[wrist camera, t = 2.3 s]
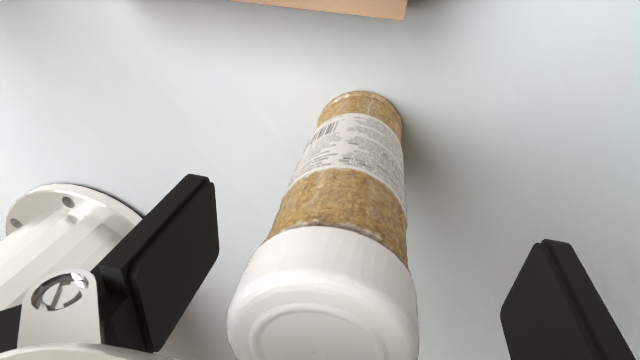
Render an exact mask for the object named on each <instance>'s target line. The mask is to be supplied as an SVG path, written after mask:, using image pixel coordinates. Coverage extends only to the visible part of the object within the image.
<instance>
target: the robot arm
mask: <svg viewBox="0 0 640 360" xmlns="http://www.w3.org/2000/svg"><path fill="white" fill-rule="evenodd" d="M6 235H7V237H6V238H5V239H3V240H2V241H0V360H178V359H173V358H169V357H164V356H160V355H155V354H152V353H153V352H158V351H159V350H160V349H161V348H162V347H163V345H164V344H165V342H166V340H167V339H168V337H169V335H170V334H171V332H172V331H173V329H174V327H175V326H176V324H177V323H178V321H179V319H180V318H181V316H182V314H183V313H184V311H185V310H186V308H187V306H188V305H189V303H190V302H191V300H192V298H193V297H194V295H195V294H196V292H197V290H198V289H199V287H200V285H201V284H202V282H203V281H204V279H205V277H206V276H207V274H208V273H209V271H210V269H211V268H212V266H213V265H214V263H215V261H216V259H217V257H218V254H219V239H218V226H217V212H216V199H215V187H214V184H213V183H212V182H210V181H209V178H208V177H205V176H199V175H194V174H188V175H186V176H185V177H184V178H183V179H182V180H181V181H180V182H179V183H178V184H177V185H176V186H175V187H174V188H173V189H172V190H171V191H170V192H169V193H168V194H167V195H166V196H165V197H164V198H163V199H162V200H161V201H160V202H159V203H158V204H157V205H156V206H155V207H154V208H153V209H152V210H151V211H150V212H149V213H148V214H147V215H146V216H145V217H144V218H143V219H142V218H141V217H140V216H139V215H138V214H137V213H135V212H134V211H132V210H131V209H130V208H128V207H127V206H125V205H124V204H122V203H121V202H119V201H117V200H115V199H113V198H111V197H109V196H108V195H105V194H103V193H100V192H98V191H95V190H92V189H89V188H86V187H81V186H77V185H72V184H50V185H44V186H40V187H38V188H36V189H34V190H31V191H30V192H28V193H27V194H25V195H24V196H22V197H21V198H19V199H18V200H16V201H15V203H14V204H13V205H12V206H11V208H10V209H9V211H8V214H7V217H6ZM500 318H501V323H502V327H503V331H504V335H505V338H506V342H507V346H508V350H509V354H510V358H511V360H636V359H635V357H634V356H633V354H632V352H631V350H630V349H629V347H628V345H627V343H626V341H625V340H624V338H623V336H622V334H621V333H620V331H619V329H618V327H617V326H616V324H615V322H614V320H613V319H612V317H611V315H610V313H609V311H608V310H607V308H606V306H605V304H604V303H603V301H602V299H601V297H600V296H599V294H598V292H597V290H596V289H595V287H594V285H593V283H592V281H591V280H590V278H589V276H588V274H587V273H586V271H585V269H584V267H583V266H582V264H581V262H580V260H579V259H578V257H577V255H576V253H575V251H574V250H573V248H572V246H571V245H570V244H569V243H565V242H560V241H554V240H549V239H544V240H543V241H542V242H541V243H535V244H534V246H533V247H532V249H531V251H530V253H529V255H528V257H527V259H526V261H525V263H524V265H523V267H522V269H521V271H520V272H519V274H518V276H517V278H516V280H515V282H514V284H513V286H512V288H511V290H510V292H509V294H508V296H507V298H506V300H505V302H504V304H503V306H502V308H501V313H500Z"/></svg>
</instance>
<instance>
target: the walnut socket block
mask: <svg viewBox="0 0 640 360" xmlns="http://www.w3.org/2000/svg"><path fill="white" fill-rule="evenodd" d="M232 1H241V2H249V3H258V4H266V5H275V6H283V7H291V8H300V9H308V10H317V11H325V12H334V13H342V14H351V15H359V16H368V17H376V18H385V19H393V20H401V21H404V17H405V12H406V6H407V1H408V0H232Z"/></svg>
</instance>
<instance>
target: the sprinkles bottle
mask: <svg viewBox="0 0 640 360" xmlns="http://www.w3.org/2000/svg"><path fill="white" fill-rule="evenodd" d="M401 141H402V125H401V119H400V116H399V115H398V113H397V112H396V110H395V108H394V107H393V106H392V105H391V104H390V103H389V102H388V101H387V100H386V99H384V98H383V97H381V96H379V95H377V94H376V93H371V92H367V91H354V92H348V93H344V94H342V95H340V96H338V97H337V98H335V99H333V100H332V101H331V102H330V103H329V104H328V105H326V107H325V108H324V109H323V111H322V113H321V115H320V117H319V119H318V123H317V128H316V130H315V131H314V133H313V135H312V136H311V138H310V140H309V142H308V144H307V147H306V149H305V151H304V153H303V155H302V157H301V159H300V161H299V163H298V165H297V167H296V169H295V172H294V174H293V176H292V178H291V181H290V183H289V185H288V187H287V189H286V192H285V194H284V196H283V198H282V201H281V205H280V209H279V211H278V213H277V215H276V218H275V221H274V224H273V226H272V229H271V231H270V233H269V235H268V237H267V239H266V240H265V241H264V242H263V243H262V244H261V245H260V247H259V248H258V249H257V250H256V251H255V253H254V254H253V255H252V257H251V258H250V260H249V262H248V264H247V266H246V269H245V271H244V273H243V275H242V277H241V279H240V282H239V284H238V286H237V289H236V291H235V293H234V296H233V298H232V301H231V303H230V306H229V309H228V313H227V318H226V329H227V336H228V339H229V342H230V345H231V347H232V350H233V352H234V353H235V355H236V356H237V358H238V359H239V360H417V359H418V355H419V327H418V311H417V296H416V289H415V286H414V282H413V279H412V277H411V273H410V271H409V269H408V264H407V247H406V228H407V209H406V194H405V178H404V162H403V152H402V148H401Z"/></svg>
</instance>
